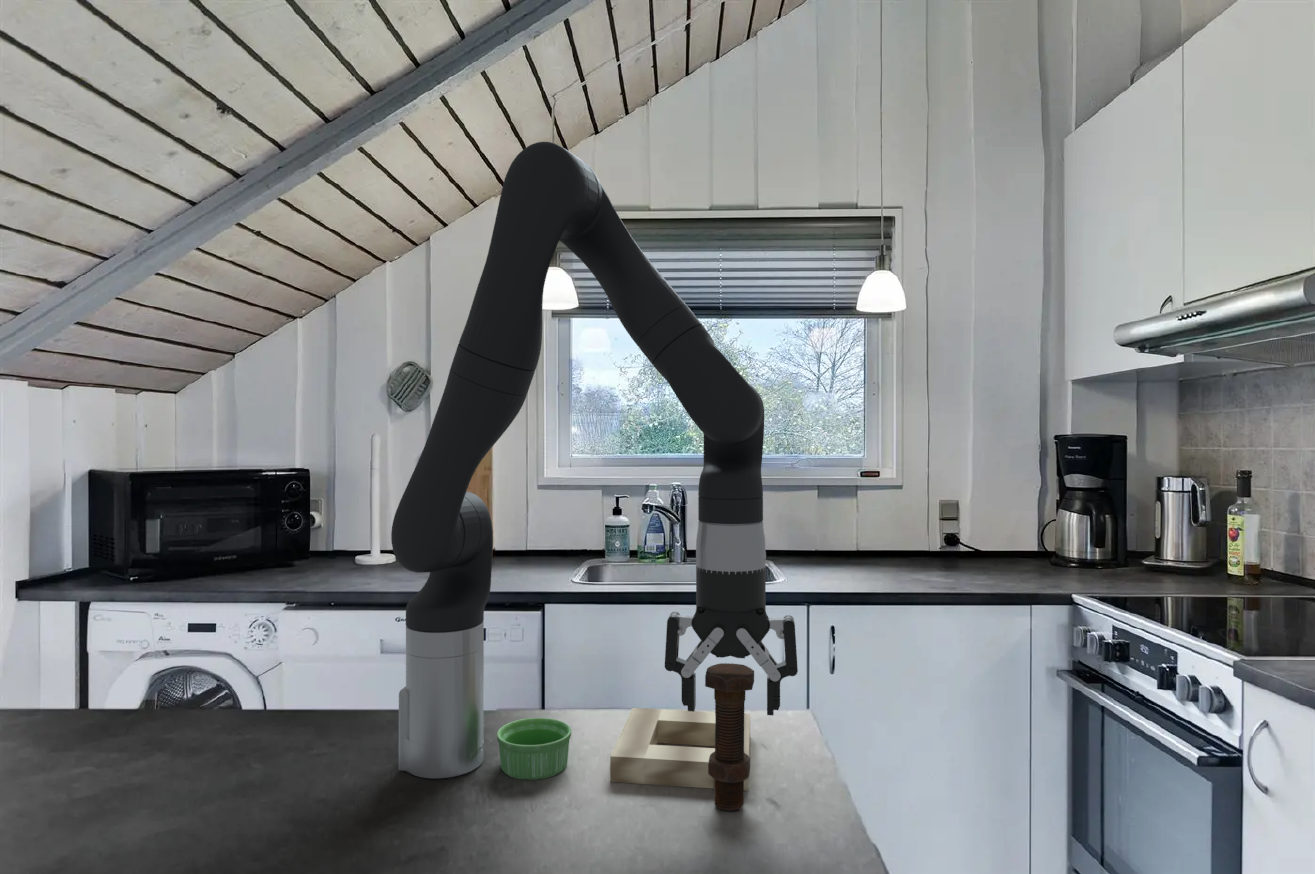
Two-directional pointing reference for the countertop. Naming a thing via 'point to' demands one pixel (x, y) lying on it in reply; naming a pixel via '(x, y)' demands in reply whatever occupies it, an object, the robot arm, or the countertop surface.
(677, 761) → the frame
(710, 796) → the countertop surface
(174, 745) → the countertop surface
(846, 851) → the countertop surface
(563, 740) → the ramekin
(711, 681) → the bolt
